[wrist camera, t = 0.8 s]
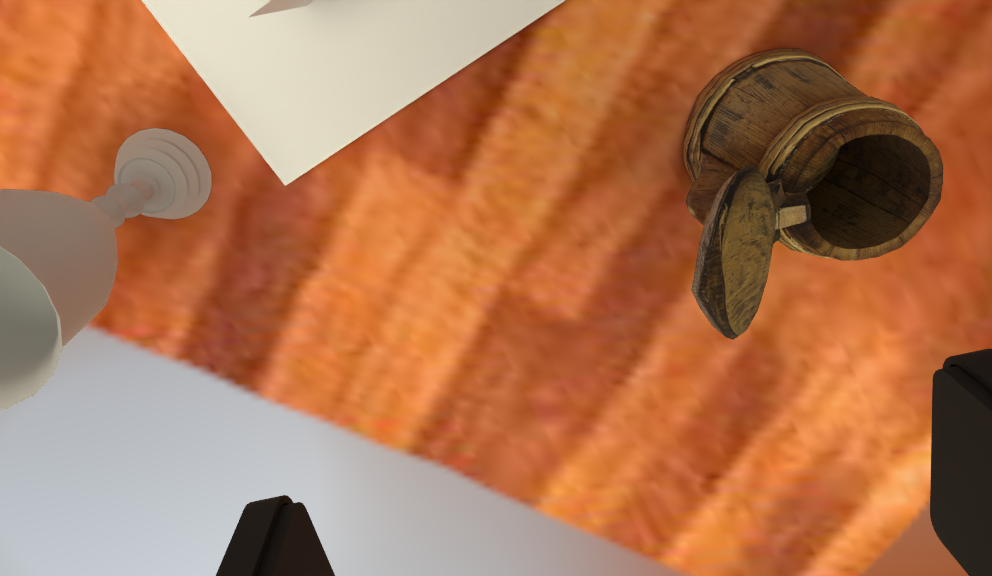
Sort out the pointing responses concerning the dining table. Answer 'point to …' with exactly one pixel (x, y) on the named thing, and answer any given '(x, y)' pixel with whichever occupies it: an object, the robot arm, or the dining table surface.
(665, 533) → the dining table surface
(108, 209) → the chalice
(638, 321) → the dining table surface
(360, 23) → the stand
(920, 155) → the wooden mug
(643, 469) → the dining table surface
